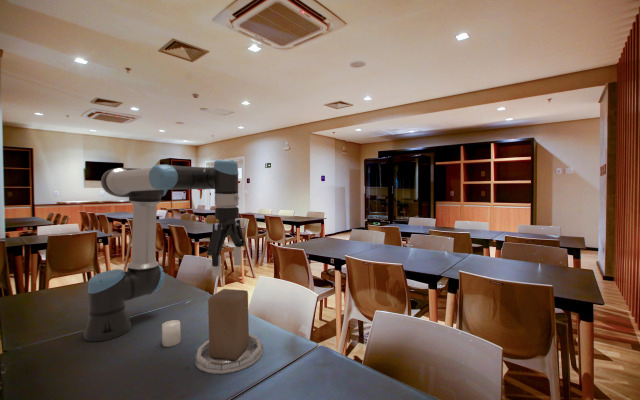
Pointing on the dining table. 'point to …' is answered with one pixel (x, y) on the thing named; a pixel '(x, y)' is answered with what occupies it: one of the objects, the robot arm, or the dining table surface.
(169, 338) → the white domed cylinder
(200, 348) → the metallic bowl
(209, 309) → the block
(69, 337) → the dining table surface
